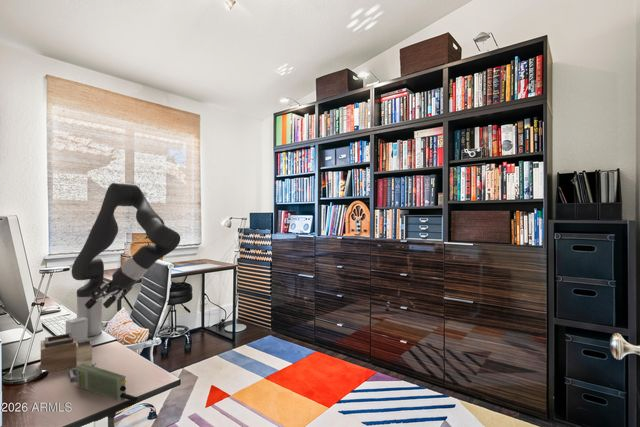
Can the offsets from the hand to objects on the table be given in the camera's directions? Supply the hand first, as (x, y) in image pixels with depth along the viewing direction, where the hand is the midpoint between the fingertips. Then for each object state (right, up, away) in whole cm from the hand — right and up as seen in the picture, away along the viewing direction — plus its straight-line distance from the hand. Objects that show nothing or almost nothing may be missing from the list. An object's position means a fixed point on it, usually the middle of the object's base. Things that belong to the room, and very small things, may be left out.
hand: (96, 306), depth 119 cm
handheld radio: (+14, -22, -16) cm, 31 cm away
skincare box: (-17, -21, +15) cm, 31 cm away
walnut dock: (-15, -21, +3) cm, 26 cm away
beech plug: (-1, -21, -4) cm, 22 cm away
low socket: (-1, -21, -4) cm, 22 cm away
